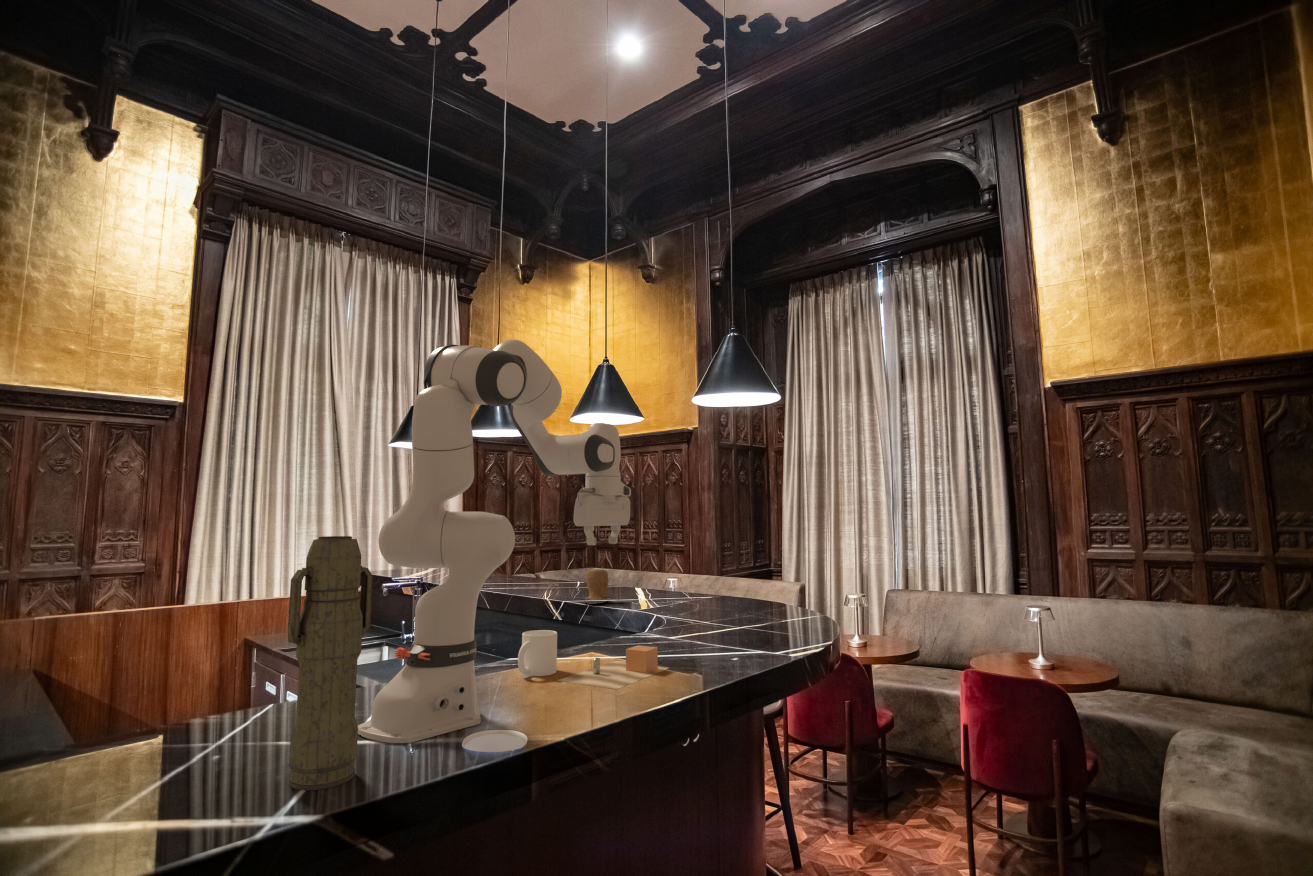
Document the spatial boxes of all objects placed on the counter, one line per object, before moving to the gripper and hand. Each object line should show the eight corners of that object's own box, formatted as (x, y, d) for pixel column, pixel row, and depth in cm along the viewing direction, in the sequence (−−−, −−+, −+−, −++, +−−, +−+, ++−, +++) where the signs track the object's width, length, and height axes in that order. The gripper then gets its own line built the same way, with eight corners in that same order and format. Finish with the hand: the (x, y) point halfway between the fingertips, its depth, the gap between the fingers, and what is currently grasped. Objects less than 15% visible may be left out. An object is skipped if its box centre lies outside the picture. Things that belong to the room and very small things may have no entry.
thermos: (377, 771, 102) (388, 536, 106) (302, 799, 92) (317, 538, 96) (340, 760, 106) (352, 535, 110) (265, 786, 96) (280, 537, 100)
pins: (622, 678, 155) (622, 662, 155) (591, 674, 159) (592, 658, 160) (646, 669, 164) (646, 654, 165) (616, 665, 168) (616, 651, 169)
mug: (532, 686, 153) (533, 639, 154) (503, 682, 156) (504, 636, 158) (563, 675, 163) (564, 631, 164) (535, 671, 167) (536, 629, 168)
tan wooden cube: (645, 673, 160) (645, 651, 161) (625, 670, 163) (625, 649, 163) (657, 668, 165) (657, 647, 165) (637, 666, 168) (637, 645, 168)
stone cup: (596, 601, 307) (596, 567, 309) (617, 603, 301) (617, 568, 302) (574, 604, 295) (575, 569, 296) (596, 606, 288) (596, 571, 290)
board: (616, 695, 145) (616, 689, 145) (556, 686, 153) (556, 680, 153) (669, 672, 166) (669, 667, 166) (614, 665, 173) (614, 661, 174)
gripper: (589, 487, 159) (588, 546, 158) (634, 489, 177) (634, 543, 175) (567, 487, 162) (566, 545, 161) (614, 490, 180) (614, 542, 179)
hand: (602, 544), depth 168 cm, fingers open, 8 cm apart
